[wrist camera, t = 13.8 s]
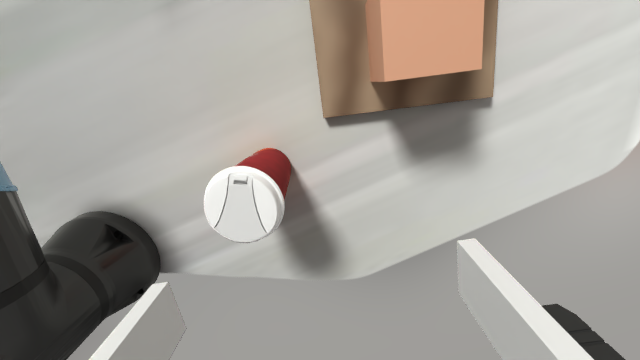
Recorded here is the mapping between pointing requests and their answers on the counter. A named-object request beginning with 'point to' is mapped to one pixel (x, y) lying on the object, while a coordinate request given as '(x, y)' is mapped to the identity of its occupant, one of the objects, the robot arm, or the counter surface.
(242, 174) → the paper cup
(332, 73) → the wooden base with block
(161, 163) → the counter surface
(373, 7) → the peach bevelled cube
